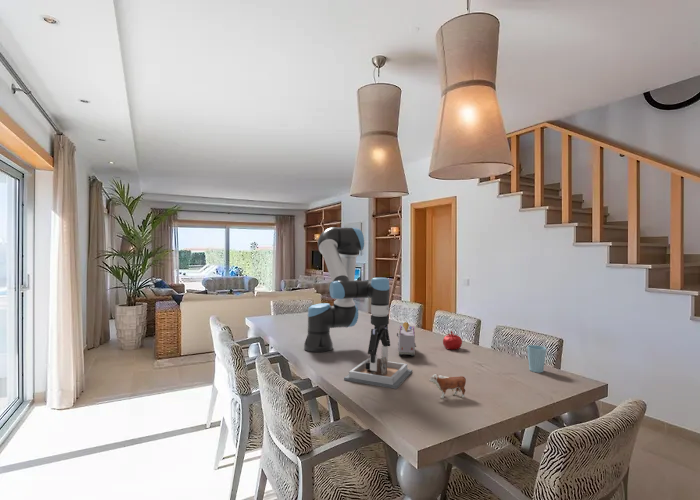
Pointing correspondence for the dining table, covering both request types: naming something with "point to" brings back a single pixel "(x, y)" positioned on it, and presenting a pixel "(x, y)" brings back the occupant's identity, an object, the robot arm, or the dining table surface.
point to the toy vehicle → (406, 340)
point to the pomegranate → (452, 341)
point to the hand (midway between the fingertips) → (379, 365)
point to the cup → (536, 358)
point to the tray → (380, 375)
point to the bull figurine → (449, 384)
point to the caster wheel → (379, 366)
